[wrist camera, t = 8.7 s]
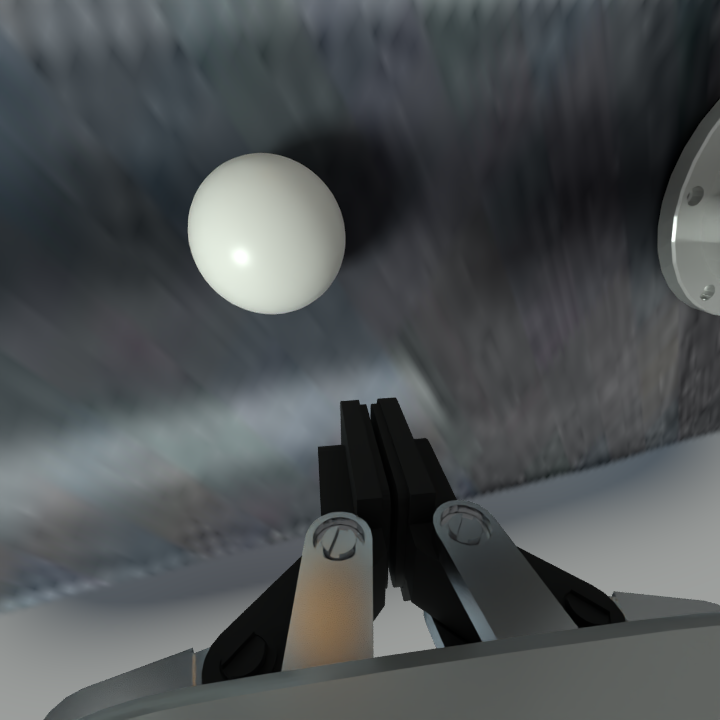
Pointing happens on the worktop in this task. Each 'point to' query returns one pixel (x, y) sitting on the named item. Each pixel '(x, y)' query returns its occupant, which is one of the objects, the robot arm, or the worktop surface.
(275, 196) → the cue ball
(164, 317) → the worktop surface
